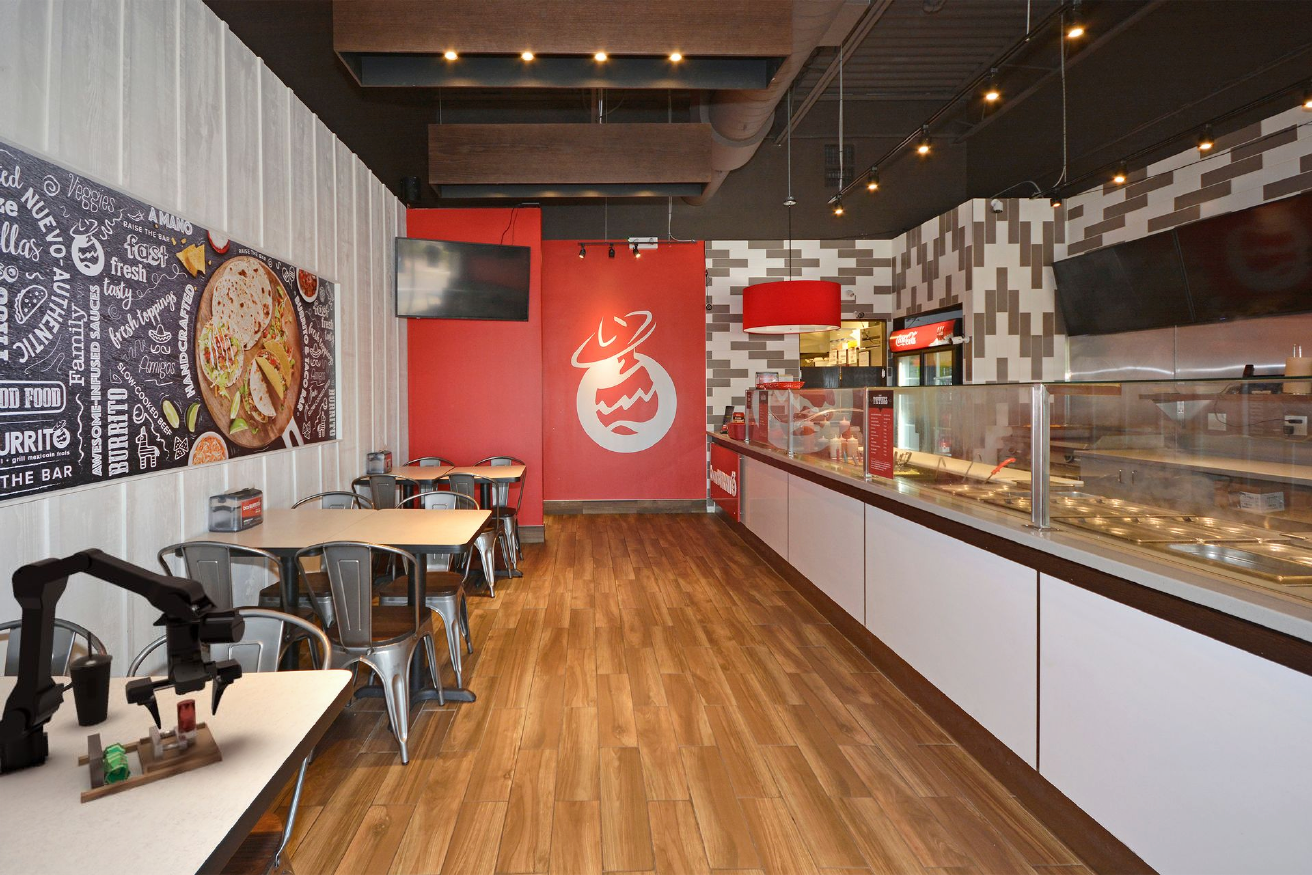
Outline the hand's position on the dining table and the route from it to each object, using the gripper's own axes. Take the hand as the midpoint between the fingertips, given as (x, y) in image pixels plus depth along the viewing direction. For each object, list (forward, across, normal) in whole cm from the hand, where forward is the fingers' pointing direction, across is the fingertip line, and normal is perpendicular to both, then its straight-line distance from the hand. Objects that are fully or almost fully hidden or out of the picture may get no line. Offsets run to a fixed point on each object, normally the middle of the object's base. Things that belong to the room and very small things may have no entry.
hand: (187, 721), depth 136 cm
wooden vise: (+6, -6, 0) cm, 9 cm away
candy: (+6, -11, 0) cm, 13 cm away
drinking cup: (+6, -14, +30) cm, 34 cm away
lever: (+5, -2, 0) cm, 5 cm away
